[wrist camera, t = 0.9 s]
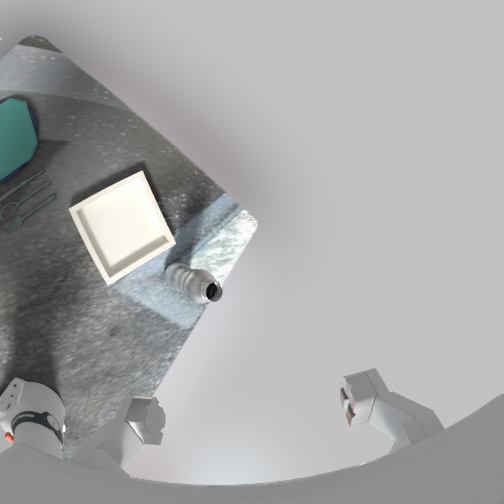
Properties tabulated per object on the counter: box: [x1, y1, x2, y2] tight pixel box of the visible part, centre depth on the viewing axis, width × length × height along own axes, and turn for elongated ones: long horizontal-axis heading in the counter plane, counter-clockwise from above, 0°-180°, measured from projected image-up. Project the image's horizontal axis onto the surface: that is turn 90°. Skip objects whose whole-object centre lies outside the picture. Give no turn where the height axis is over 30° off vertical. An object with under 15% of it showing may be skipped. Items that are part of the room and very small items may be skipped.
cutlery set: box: [0, 98, 56, 235], centre depth 36 cm, size 20×30×2 cm, turn 29°
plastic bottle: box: [165, 262, 223, 304], centre depth 54 cm, size 6×7×20 cm
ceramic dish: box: [69, 171, 176, 286], centre depth 53 cm, size 18×18×3 cm
